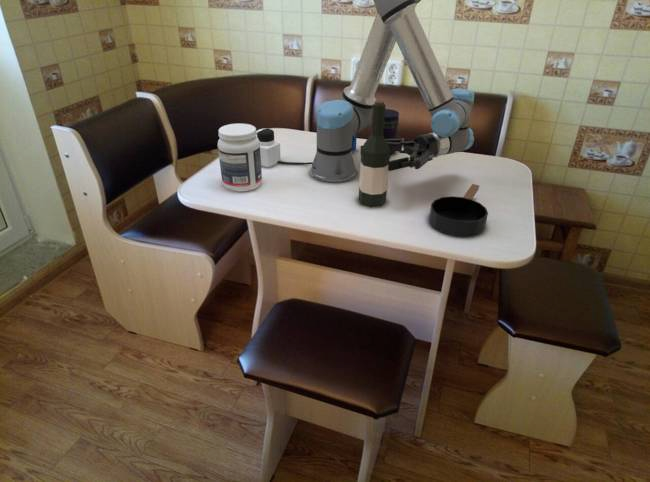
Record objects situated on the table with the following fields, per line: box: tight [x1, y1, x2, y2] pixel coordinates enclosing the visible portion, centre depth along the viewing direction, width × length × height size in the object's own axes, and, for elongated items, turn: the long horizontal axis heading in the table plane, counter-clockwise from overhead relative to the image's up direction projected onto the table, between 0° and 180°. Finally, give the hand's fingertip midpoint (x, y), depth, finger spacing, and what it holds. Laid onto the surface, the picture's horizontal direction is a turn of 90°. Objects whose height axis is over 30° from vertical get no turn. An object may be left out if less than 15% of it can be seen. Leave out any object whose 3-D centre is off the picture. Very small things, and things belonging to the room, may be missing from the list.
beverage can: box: [351, 133, 358, 153], centre depth 170 cm, size 6×6×12 cm
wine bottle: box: [357, 99, 391, 208], centre depth 130 cm, size 8×8×30 cm
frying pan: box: [428, 183, 489, 238], centre depth 130 cm, size 26×15×5 cm, turn 150°
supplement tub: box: [217, 123, 263, 192], centre depth 142 cm, size 13×13×18 cm
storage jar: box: [383, 108, 400, 157], centre depth 169 cm, size 10×10×15 cm
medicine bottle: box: [256, 127, 282, 169], centre depth 159 cm, size 7×7×12 cm
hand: (374, 158), depth 130 cm, fingers open, 13 cm apart
